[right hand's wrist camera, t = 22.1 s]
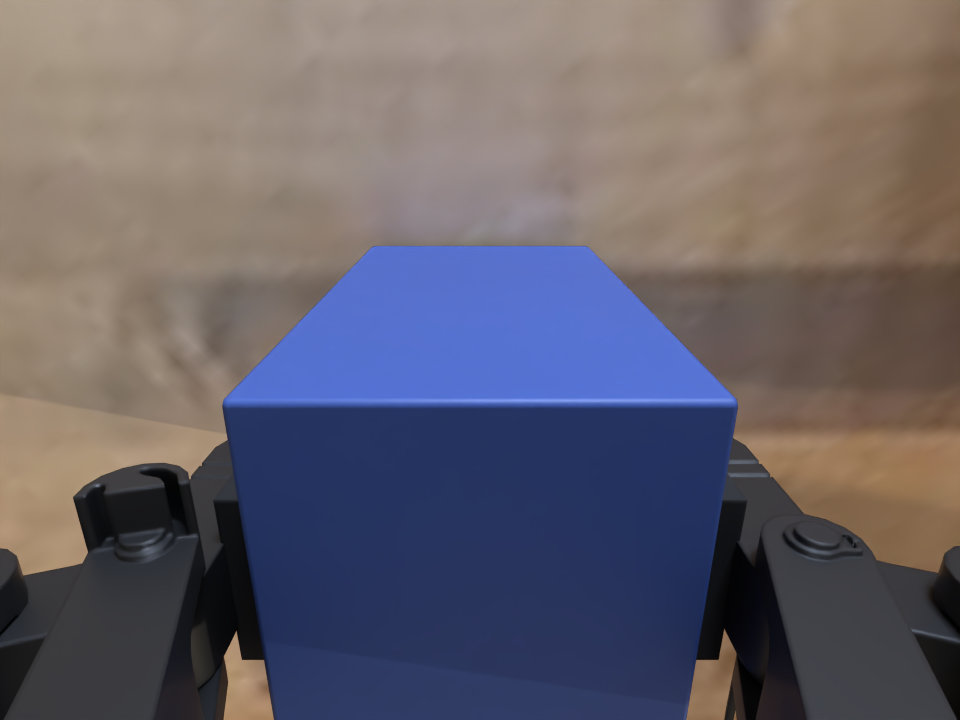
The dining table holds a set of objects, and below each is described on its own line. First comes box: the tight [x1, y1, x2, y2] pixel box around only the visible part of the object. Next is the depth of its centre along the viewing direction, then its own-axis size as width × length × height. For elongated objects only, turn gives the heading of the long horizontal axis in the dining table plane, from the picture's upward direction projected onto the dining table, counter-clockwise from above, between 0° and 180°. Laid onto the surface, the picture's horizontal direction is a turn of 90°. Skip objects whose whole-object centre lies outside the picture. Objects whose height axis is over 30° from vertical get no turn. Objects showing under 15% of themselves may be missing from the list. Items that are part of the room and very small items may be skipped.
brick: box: [222, 246, 738, 720], centre depth 12 cm, size 5×6×9 cm
